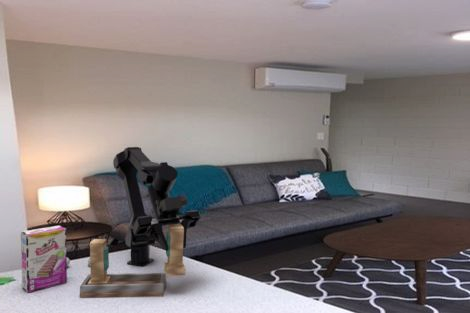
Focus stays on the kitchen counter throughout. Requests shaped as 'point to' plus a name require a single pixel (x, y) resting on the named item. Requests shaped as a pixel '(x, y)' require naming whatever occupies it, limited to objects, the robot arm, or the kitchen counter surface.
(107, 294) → the weathered wooden tray
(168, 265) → the oak finger
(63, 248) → the candy bar box
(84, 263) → the kitchen counter surface
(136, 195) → the robot arm
